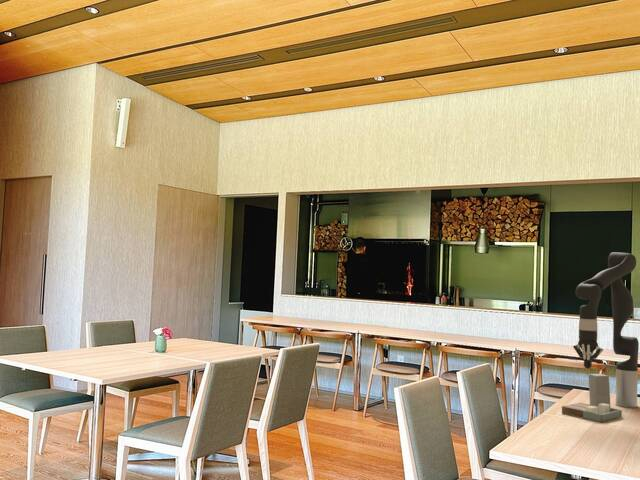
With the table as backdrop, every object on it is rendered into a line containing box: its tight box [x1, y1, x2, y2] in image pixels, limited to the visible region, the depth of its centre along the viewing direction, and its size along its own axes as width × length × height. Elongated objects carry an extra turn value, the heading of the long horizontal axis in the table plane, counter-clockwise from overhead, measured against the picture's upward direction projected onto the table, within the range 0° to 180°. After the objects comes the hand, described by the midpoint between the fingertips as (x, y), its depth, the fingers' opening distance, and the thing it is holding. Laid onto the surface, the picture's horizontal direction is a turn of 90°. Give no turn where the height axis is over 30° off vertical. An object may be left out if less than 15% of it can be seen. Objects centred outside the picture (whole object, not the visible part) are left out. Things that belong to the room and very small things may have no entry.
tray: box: [582, 407, 623, 423], centre depth 261 cm, size 18×8×3 cm, turn 129°
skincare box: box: [588, 373, 612, 408], centre depth 281 cm, size 8×7×16 cm
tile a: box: [598, 403, 611, 414], centre depth 265 cm, size 4×4×3 cm
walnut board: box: [561, 402, 598, 419], centre depth 269 cm, size 16×10×3 cm, turn 129°
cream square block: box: [586, 406, 598, 414], centre depth 259 cm, size 4×4×3 cm
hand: (587, 368), depth 265 cm, fingers closed
